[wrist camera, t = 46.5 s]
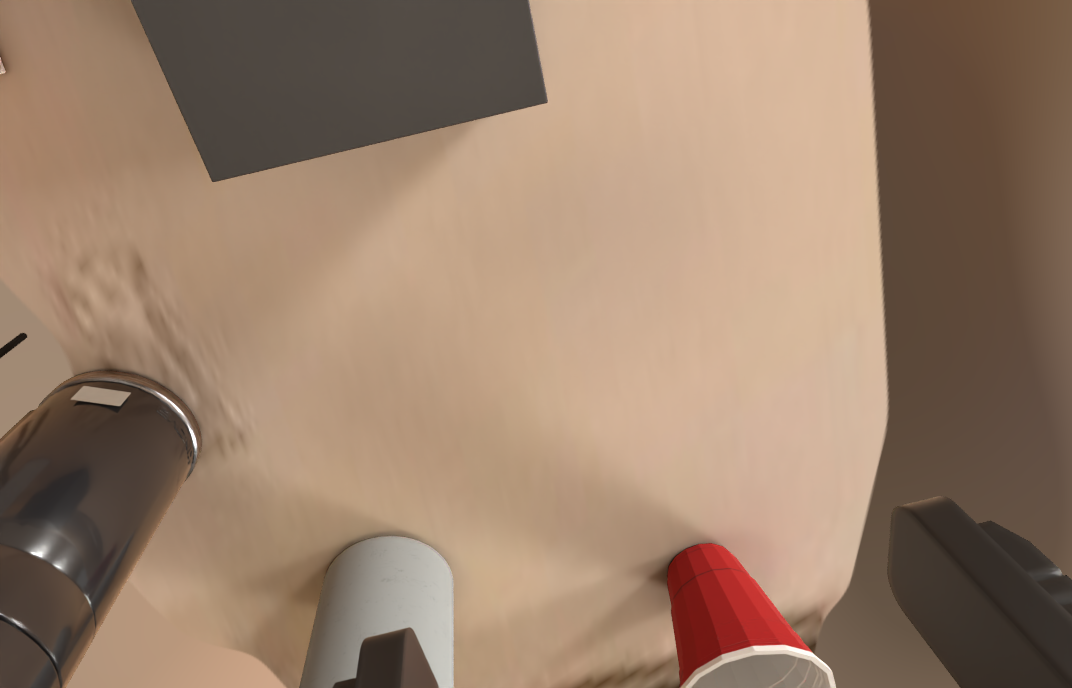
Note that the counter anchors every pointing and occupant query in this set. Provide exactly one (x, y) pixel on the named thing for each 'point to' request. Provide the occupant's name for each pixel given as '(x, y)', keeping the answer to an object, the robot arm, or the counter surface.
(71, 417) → the robot arm
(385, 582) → the water bottle
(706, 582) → the plastic cup
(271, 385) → the counter surface
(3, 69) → the milk carton
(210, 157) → the small drawer unit
